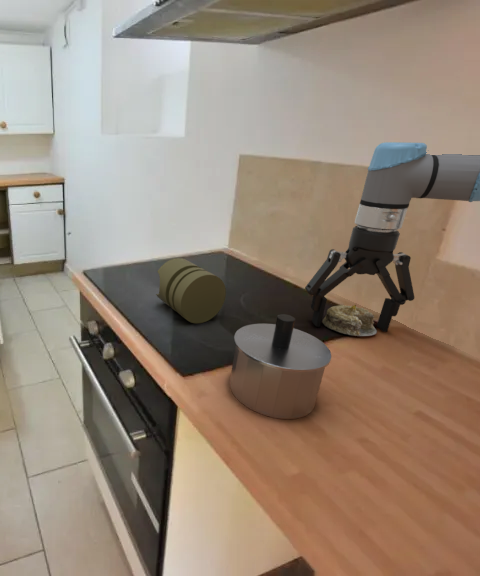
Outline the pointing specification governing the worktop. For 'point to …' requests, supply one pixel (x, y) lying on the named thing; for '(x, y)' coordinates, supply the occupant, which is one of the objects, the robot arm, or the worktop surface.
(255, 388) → the pot
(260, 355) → the pot lid
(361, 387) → the worktop surface
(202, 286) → the piston
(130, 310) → the worktop surface
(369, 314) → the cake
